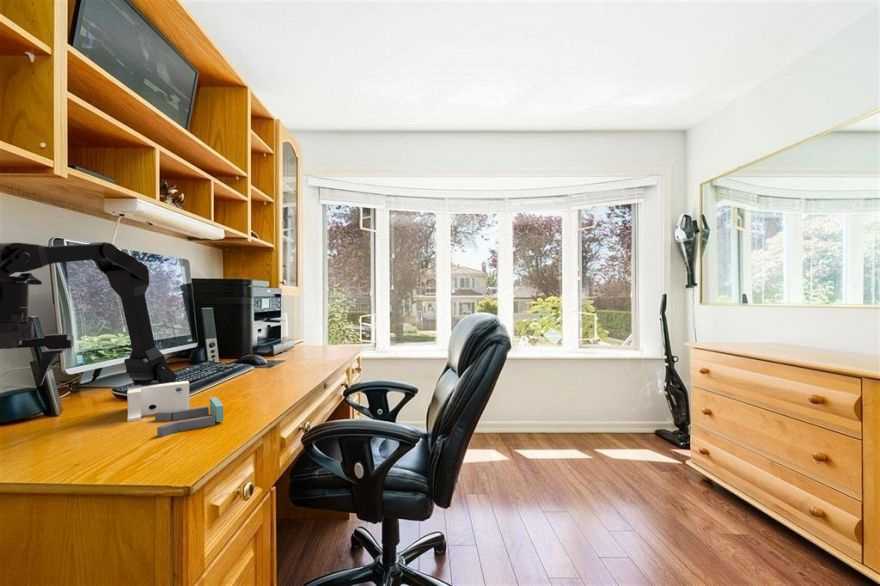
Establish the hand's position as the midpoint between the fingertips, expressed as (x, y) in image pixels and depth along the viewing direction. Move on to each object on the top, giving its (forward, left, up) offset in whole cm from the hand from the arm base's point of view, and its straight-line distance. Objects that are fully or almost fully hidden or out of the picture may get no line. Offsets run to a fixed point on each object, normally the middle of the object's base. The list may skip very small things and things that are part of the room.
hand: (6, 389), depth 78 cm
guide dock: (-1, +24, -13) cm, 27 cm away
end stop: (-1, +36, -13) cm, 38 cm away
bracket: (-18, +25, -9) cm, 32 cm away
